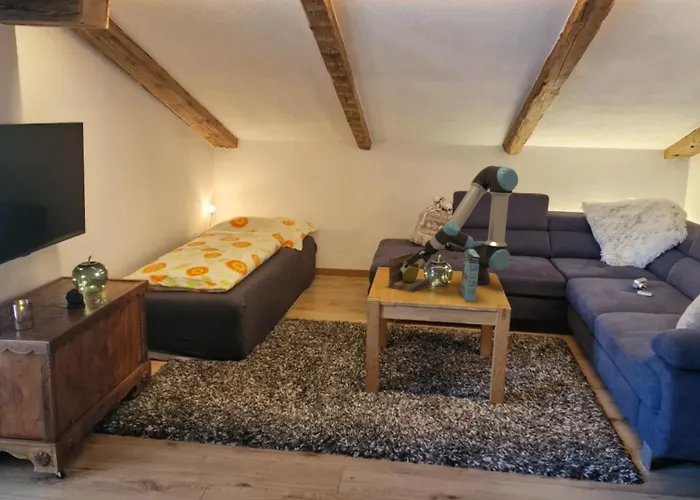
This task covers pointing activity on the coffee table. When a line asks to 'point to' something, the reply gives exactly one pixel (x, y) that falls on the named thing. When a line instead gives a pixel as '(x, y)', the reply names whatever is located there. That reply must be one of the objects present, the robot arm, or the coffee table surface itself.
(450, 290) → the coffee table surface
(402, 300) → the coffee table surface
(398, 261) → the wooden shelf
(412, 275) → the flower pot
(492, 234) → the robot arm
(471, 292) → the blue cardboard box
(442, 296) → the coffee table surface
